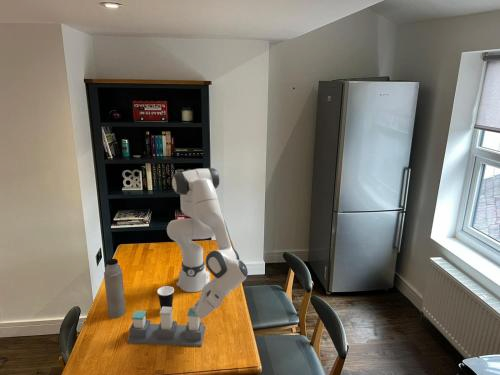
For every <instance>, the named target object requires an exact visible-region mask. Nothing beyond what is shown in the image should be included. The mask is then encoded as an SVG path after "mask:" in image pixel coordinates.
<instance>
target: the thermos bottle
mask: <svg viewBox="0 0 500 375" xmlns="http://www.w3.org/2000/svg"><path fill="white" fill-rule="evenodd" d="M105 264H106V266H105V268H104V272H103V277H104V288H105V297H106V298H105V299H106V307H107V316H108V317H109V318H112V319H119V318H121V317H123V316H124V315H125V314H126V313H127V312H126V310H127V309H126V300H125V288H124V276H123V275H124V274H123V269H122V268H121V265H120V264H119V262H118V259H117V258H110V259H107V261H106V263H105Z"/></svg>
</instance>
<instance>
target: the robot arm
mask: <svg viewBox="0 0 500 375" xmlns="http://www.w3.org/2000/svg"><path fill="white" fill-rule="evenodd" d="M219 174H220V173H219V172H218V171H217V169H215V168H213V167H207V168H194V169H191V170H185V171H179V172H176V173H174V175H173V176H172V180H171V185H172V188H173V191H174V192H175V193H176V194H177V195H180V198H179V199H180V211H181V212H182V214H184V216H187V217H189V218H178V219H173V220H170V222H168V225H167V227H166V233H167V236H168V237H169V238H170V240H172V241H174V242H175V243H176V244H177V245H178V246H179V248H180V251H181V258H182V262H181V270H180V271H179V274H178V275H179V277H178V281H176V284H175V285H176V286H177V287H179V288H180V290H182V291H184V292H187V293H197V292H200V291H201V292H200V294H199V295H200V296H199V299H198V300H197V301H196V303H195V304H194V305H193V306H192V308H193V309H192V310H193V311H194V312H195V314H196V315H197V316H198V317H199V320H200V319H201V320H202V319H204V318H206V317H207V316H209V315H210V314H211V313H212V312H214V310H215V309H219V308H220V306H221V305H222V304H223V301H224V299H225V298H226V297H227V296H229V295H230V293H231V291H233V290H235V289H237V288H238V287H239V286H240V285H242V283H243V282H244V281H245V280H246V279H247V277H248V274H249V272H248V268H247V266H246V264H245V262H244V261H243V260H240V256H239V254H238V252H237V250H236V249H235V247H234V246H233V243H232V239H231V237H230V233H229V230H228V227H227V224H226V221H225V219H224V216H223V214H222V210H221V205H220V202H219V197H218V194H217V191H216V189H217V188H218V187H219V186H220V179H221V178H220V175H219ZM213 237H215V240H216V244H217V247H218V249H216V250H211V251H210V252H209V253H208V254H207V255H206V257H205V261H204V248H203V247H202V246H201V245H200V244H199V243H196V242H194V241H193V240H205V239H210V238H213ZM206 269H207V270H206ZM211 275H212V276H213V277H214V278H213V279H212V280H211Z"/></svg>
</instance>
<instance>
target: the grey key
mask: <svg viewBox="0 0 500 375" xmlns="http://www.w3.org/2000/svg"><path fill="white" fill-rule="evenodd" d="M173 310H174V307H173V306H172V307H162V309H161V308H160V311H159V316H160V322H161V329H167V330H171V328H172V325H173V321H174V320H173Z"/></svg>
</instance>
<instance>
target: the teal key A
mask: <svg viewBox="0 0 500 375" xmlns="http://www.w3.org/2000/svg"><path fill="white" fill-rule="evenodd" d="M146 314H147V311H145V310H135V311H134V312H133V315H132V318H131V319H132V321H133V322H132V323H134V328H144V327H145V325H146V320H147V319H146Z"/></svg>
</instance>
